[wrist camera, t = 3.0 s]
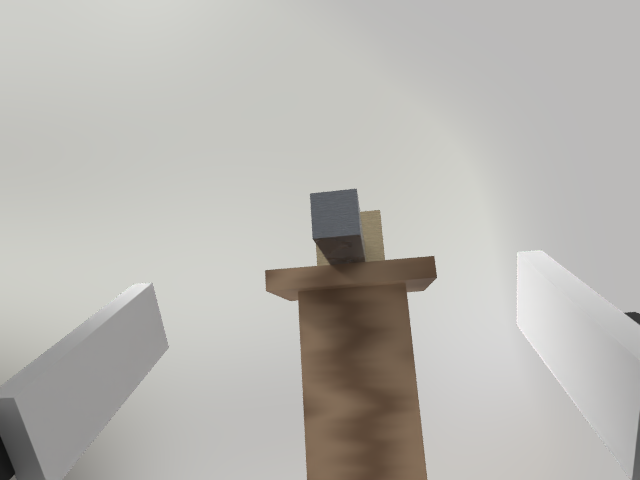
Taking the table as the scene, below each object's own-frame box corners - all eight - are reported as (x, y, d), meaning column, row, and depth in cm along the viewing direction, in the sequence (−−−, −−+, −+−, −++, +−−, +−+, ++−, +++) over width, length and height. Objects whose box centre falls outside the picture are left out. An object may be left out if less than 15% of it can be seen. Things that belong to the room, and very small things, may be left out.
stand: (281, 800, 23) (265, 270, 30) (307, 680, 32) (289, 284, 39) (505, 815, 22) (434, 256, 29) (471, 685, 30) (421, 274, 37)
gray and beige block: (284, 241, 22) (280, 153, 23) (324, 281, 38) (320, 228, 39) (389, 231, 21) (380, 142, 23) (385, 276, 37) (379, 222, 39)
